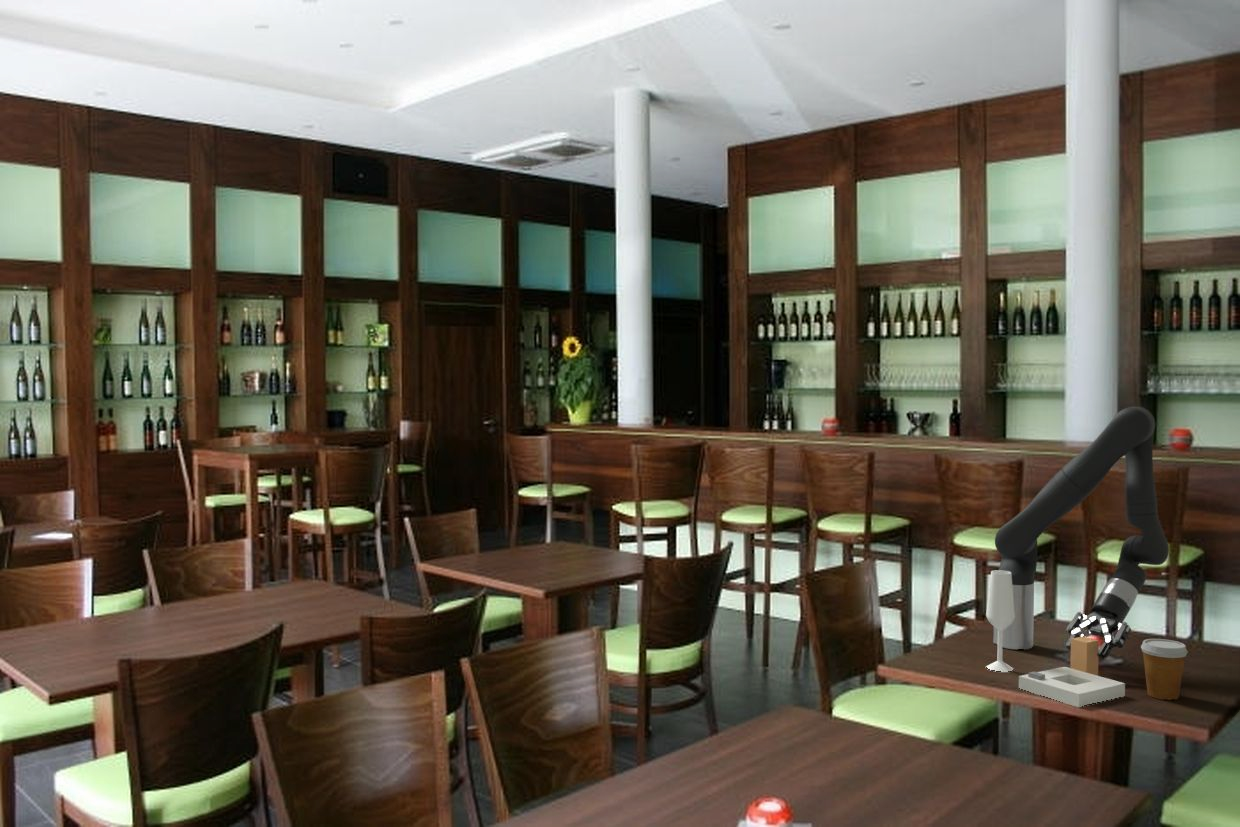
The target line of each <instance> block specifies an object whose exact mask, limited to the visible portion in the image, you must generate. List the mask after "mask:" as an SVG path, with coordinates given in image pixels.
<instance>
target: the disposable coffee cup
mask: <svg viewBox="0 0 1240 827" xmlns="http://www.w3.org/2000/svg"><path fill="white" fill-rule="evenodd" d="M1140 649H1141V651H1142V656H1143V664H1144V673H1145V682H1146V689H1147V690H1146V691H1147V692H1146V693H1147V696H1149V697H1152V698H1153V697H1154V699H1159V700H1164V699H1165V700H1166V699H1167V701H1173V700H1172V699H1174V700H1178V699H1179V698H1178V697H1180V689H1181V685H1182V679H1183V672H1184V666H1185V659H1186V656H1187V654H1188V653H1189V652H1188V650H1187V648H1186V644H1184V643H1183V642H1181V641H1176V640H1173V639H1172V640H1171V639H1164V638H1148V639H1147V638H1146V639H1144V640H1142V644H1141V645H1140Z"/></svg>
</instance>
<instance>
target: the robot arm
mask: <svg viewBox="0 0 1240 827" xmlns="http://www.w3.org/2000/svg"><path fill="white" fill-rule="evenodd" d="M1155 428H1156V420H1155V417H1154V416H1153V414H1152V412H1151V411H1149V410H1148V409H1146V408H1145V407H1142V406H1128V407H1126V408H1123V409H1121V410H1120V411H1118V412H1117V413H1116V414H1115V415H1114V417H1113V418H1112V419H1111V420H1110V422H1109V423H1108V424H1107V426H1106V427H1105V428H1104V429H1103V430H1102V432H1101V433H1099V435H1098V436H1097V438H1095V439H1094V441H1093V442H1092V443H1091V444H1090V445H1088V446H1087V447H1086V448H1084V449H1083V450H1081V452H1078V454H1076V456H1074V457H1073V458H1072V459H1070V460H1069V461H1068V462H1067V463H1066V464H1065V465H1064V466H1062V468H1060V470H1059V471H1057V473H1056V474H1054V475H1053V476H1052V478H1051V479H1050V480H1049V481H1048V482H1047V483H1046V484H1045V485H1044V487H1042V489H1040V491H1039V492H1038V493H1037V495H1036V496H1034V498H1033V499H1032V500H1031V501H1030V503H1029V504H1028V505H1027V506H1026V507H1025V508H1024V509H1023V510H1021V511H1020V512H1019V513H1018V514H1017V515H1015V517H1013V518H1012V519H1010V520H1009V521H1008V522H1006V523H1005V524H1004V525H1002V526H1001V527H999V529H998V530H997V532H996V534H995V537H994V545H995V549H996V550H997V552H998V553H999V554H1000V556H1001V558H1000V564H999V567H998V570H1002V571H1009V572H1011V575H1012V587H1013V599H1014V611H1015V619H1014V621H1013V622H1012V623H1011V624H1010V625H1009V626H1008V627H1007V628H1006V629H1004V630H1003V648H1004V649H1008V650H1009V649H1010V650H1018V649H1024V650H1031V649H1033V648H1034V614H1035V607H1034V606H1035V576H1036V573H1037V567H1038V566H1037V563H1038V562H1037V561H1038V538H1039V537H1040V536H1041V535H1042V534H1043V533H1044V532H1045V531H1046V530H1047V529H1048V528H1049V527H1050V526H1051V525H1053V523H1055V522H1057V521H1059V520H1060V519H1061V518H1063V517H1064V516H1065V515H1067V514H1068V513H1070V512H1071V511H1072V510H1073V509H1075V508H1076V507H1077V506H1079V505H1080V504H1081V503H1082V502H1083V501H1084V500H1085V499H1086V498H1088V496H1089V495H1090V494H1091V493H1092V492H1094V491H1095V489H1096V488H1097V487H1098V486H1099V485H1100V483H1101V482H1102V481H1103V480H1104V478H1105V477H1106V476H1107V474H1108V473H1109V472H1110V470H1112V468H1113V466H1114V465H1116V463H1117V462H1118V461H1119V460H1120V459H1121V458H1123V457H1125V485H1124V487H1125V488H1124V495H1125V496H1124V497H1125V498H1124V500H1125V509H1126V510H1125V511H1126V520H1127V523H1128V524H1129V526H1130V527H1131V526H1132V527H1134V528H1137V529H1138V530H1140V531H1141V533H1142V535H1138V534H1137V535H1136V534H1135V535H1132V536H1129V537H1128V538H1126V539H1125V540H1124V542H1123V543H1122V545H1121V548H1120V553H1119V558H1118V563H1117V565H1116V566H1117V567H1116V569H1115V570H1114V572H1113V574H1112V575H1111V578H1110V579H1109V580H1108V581H1107V583H1106V584H1105V585H1104V587H1103V588H1102V589H1101V592H1100V593H1099V595H1098V597H1097V598H1096V600H1095V601H1094V604H1093V605H1092V607H1091V612H1090V613H1089V614H1088V615H1085V614H1083V613H1082V611H1077V612H1076V613H1075V615H1074V617H1073V618H1072V619H1071V621H1070V622H1069V624H1068V625H1067V627H1066V631H1067V632H1068V634H1069V635H1070V637H1069V638H1068V640H1067V641H1066V643H1065V646H1066V649H1067V650H1068V651H1069V652H1070V653H1071V639H1072V638H1078V637H1087V638H1089V637H1090V636H1091V635H1092V636H1097V637H1098V636H1099V637H1100V638H1104V639H1105V640H1104V641H1105V642H1103V643H1102V644H1101V646H1100V648H1099V651H1098V653H1097V656H1098V659H1099V660H1102V661H1104V660H1105V659H1107V658H1108V657H1109V655H1110V653H1111V651H1112V649H1114V648H1118V649H1122V648H1123V647H1124V645H1125V643H1126V641H1127V639H1128V638H1129V635H1130V633H1131V632H1132V628H1131V627H1130V625H1129V624H1128V622H1127V621H1125V619H1126V618H1127V616H1128V614H1129V612H1130V611H1131V609H1132V607H1133V606H1134V604H1135V602H1136V599H1137V596H1138V594H1139V593H1140V591H1141V590H1142V587H1143V586H1144V584H1145V582H1146V579H1147V573H1146V571H1145V570H1144V569H1143V568H1142V567H1141V566H1139V565H1141V564H1142V565H1150V566H1161V565H1162V564H1164V563H1165V562H1166V561H1167V559H1168V557H1169V553H1170V549H1169V548H1170V547H1169V543H1168V539H1167V537H1166V535H1165V532H1164V530H1163V527H1162V524H1161V521H1160V519H1159V514H1158V502H1157V501H1158V500H1157V493H1156V485H1155V476H1154V464H1153V463H1154V461H1153V457H1154V455H1153V452H1154V449H1153V447H1154V436H1155ZM1086 628H1087V630H1086ZM1116 631H1117V632H1116ZM1114 632H1116V634H1115V636H1114ZM992 641H993V644H995V645H996V646H998V629H996V628H995V627H994V626H993V640H992ZM1032 647H1033V648H1032ZM1030 648H1031V649H1030Z"/></svg>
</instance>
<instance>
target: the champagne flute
mask: <svg viewBox="0 0 1240 827" xmlns="http://www.w3.org/2000/svg"><path fill="white" fill-rule="evenodd" d="M985 616H986V618H987V621H988V622H989V623H990V625H992V626H993V628H994V627H995V628H996V629H998V645H997V655H996V656H997V658H996V659H997V660H996V661H994V662H992V663H990V664H988V665H986V666H985V668H986V667H987V668H988V669H990V670H989V671H991V670H995V671H994V672H996V671H1001V672H1000V673H1009V672H1008V671H1012V670H1013V669H1014V667H1012V666H1011V665H1009V664H1007V663H1006V662H1005V661H1003V630H1004V629H1006V628H1007V627H1008V626H1009V625H1010V624H1011V623H1012V622H1013V621H1014V619H1015V611H1014V599H1013V587H1012V575H1011V572H1009V571H1002V570H999V569H998V570H996V569H995V570H991V571H990V577H989V587H988V597H987V604H986V613H985ZM988 669H987V670H988ZM1012 672H1013V671H1012Z"/></svg>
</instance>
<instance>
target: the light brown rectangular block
mask: <svg viewBox="0 0 1240 827" xmlns="http://www.w3.org/2000/svg"><path fill="white" fill-rule="evenodd" d="M1099 642H1100V640H1098V639H1094V638H1090V637H1086V636H1085V637H1078V638H1072V639H1071V652H1070V666H1069V668H1071V669H1075V670H1079V671H1082V672H1086V673H1089V674H1093V675H1097V676H1099V657H1098V656H1097V653H1098V651H1099V650H1100V648H1099V646H1100V643H1099Z"/></svg>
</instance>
